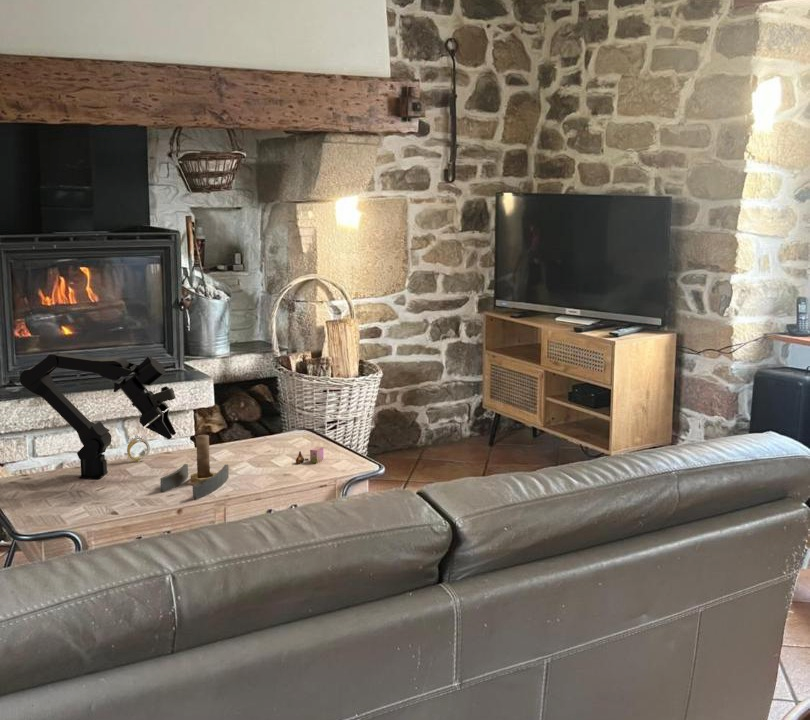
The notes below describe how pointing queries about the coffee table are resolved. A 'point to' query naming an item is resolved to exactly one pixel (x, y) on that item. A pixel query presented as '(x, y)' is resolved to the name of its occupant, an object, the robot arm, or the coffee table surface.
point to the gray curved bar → (198, 489)
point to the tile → (191, 482)
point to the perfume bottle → (312, 455)
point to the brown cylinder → (202, 460)
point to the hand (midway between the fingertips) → (172, 436)
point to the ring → (135, 443)
